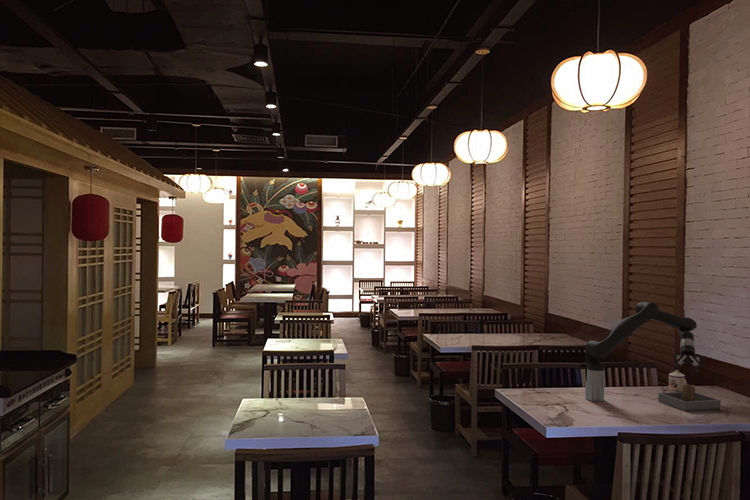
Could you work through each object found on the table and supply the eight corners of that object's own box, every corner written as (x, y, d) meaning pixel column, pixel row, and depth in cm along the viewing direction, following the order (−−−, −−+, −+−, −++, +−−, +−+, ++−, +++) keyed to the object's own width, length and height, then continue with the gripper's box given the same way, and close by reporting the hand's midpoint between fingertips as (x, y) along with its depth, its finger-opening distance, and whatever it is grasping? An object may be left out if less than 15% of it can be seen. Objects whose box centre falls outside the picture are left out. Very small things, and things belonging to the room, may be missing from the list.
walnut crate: (683, 404, 307) (683, 386, 307) (682, 401, 312) (682, 383, 312) (694, 405, 305) (695, 387, 305) (694, 403, 310) (694, 385, 310)
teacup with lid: (664, 388, 349) (665, 369, 349) (676, 387, 351) (677, 368, 351) (680, 392, 337) (680, 373, 337) (692, 392, 340) (692, 372, 340)
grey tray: (685, 411, 296) (685, 402, 296) (658, 401, 316) (658, 392, 316) (720, 409, 301) (720, 400, 301) (691, 400, 321) (692, 391, 321)
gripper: (673, 343, 329) (674, 366, 319) (701, 345, 323) (703, 368, 313) (673, 350, 334) (673, 373, 324) (701, 353, 328) (702, 376, 317)
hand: (688, 371), depth 318 cm, fingers open, 8 cm apart
